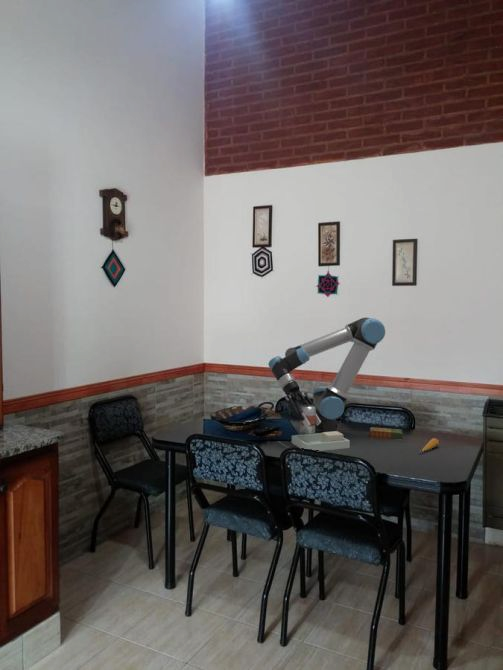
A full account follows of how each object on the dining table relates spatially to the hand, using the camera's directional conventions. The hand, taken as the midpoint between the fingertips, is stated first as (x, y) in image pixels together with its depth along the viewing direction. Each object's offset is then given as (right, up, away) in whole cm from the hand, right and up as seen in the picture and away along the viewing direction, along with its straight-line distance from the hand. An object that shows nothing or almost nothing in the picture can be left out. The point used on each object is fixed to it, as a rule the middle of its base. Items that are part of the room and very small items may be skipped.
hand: (313, 424), depth 256 cm
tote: (+3, -11, +3) cm, 12 cm away
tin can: (-3, -4, +3) cm, 5 cm away
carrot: (+53, -13, +2) cm, 55 cm away
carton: (+39, -11, +23) cm, 47 cm away
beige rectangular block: (+9, -10, +2) cm, 14 cm away
